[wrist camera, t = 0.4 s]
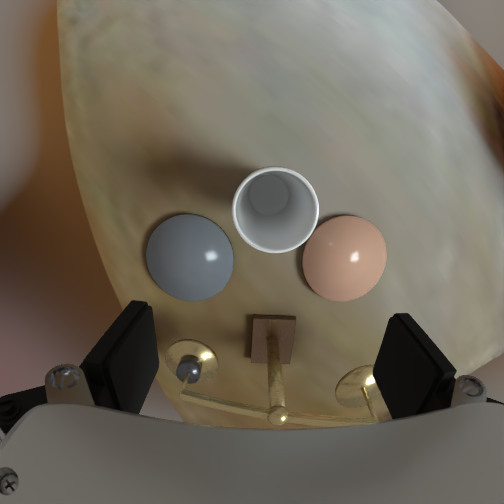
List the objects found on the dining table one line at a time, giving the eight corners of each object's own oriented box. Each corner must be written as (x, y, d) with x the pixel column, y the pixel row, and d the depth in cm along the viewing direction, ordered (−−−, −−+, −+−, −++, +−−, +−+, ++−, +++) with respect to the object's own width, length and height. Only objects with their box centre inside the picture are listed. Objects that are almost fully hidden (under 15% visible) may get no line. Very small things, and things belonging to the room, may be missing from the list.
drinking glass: (231, 181, 35) (214, 190, 21) (280, 158, 34) (297, 150, 20) (255, 228, 37) (254, 268, 22) (303, 206, 36) (333, 232, 22)
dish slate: (146, 212, 36) (144, 214, 35) (235, 215, 36) (234, 216, 35) (151, 294, 40) (149, 297, 39) (232, 300, 40) (232, 304, 39)
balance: (176, 309, 40) (132, 394, 23) (367, 316, 40) (417, 396, 23) (180, 352, 43) (147, 440, 25) (356, 357, 43) (392, 441, 25)
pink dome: (306, 211, 36) (307, 212, 35) (389, 219, 36) (392, 220, 35) (297, 297, 40) (298, 300, 39) (375, 298, 39) (377, 301, 39)
